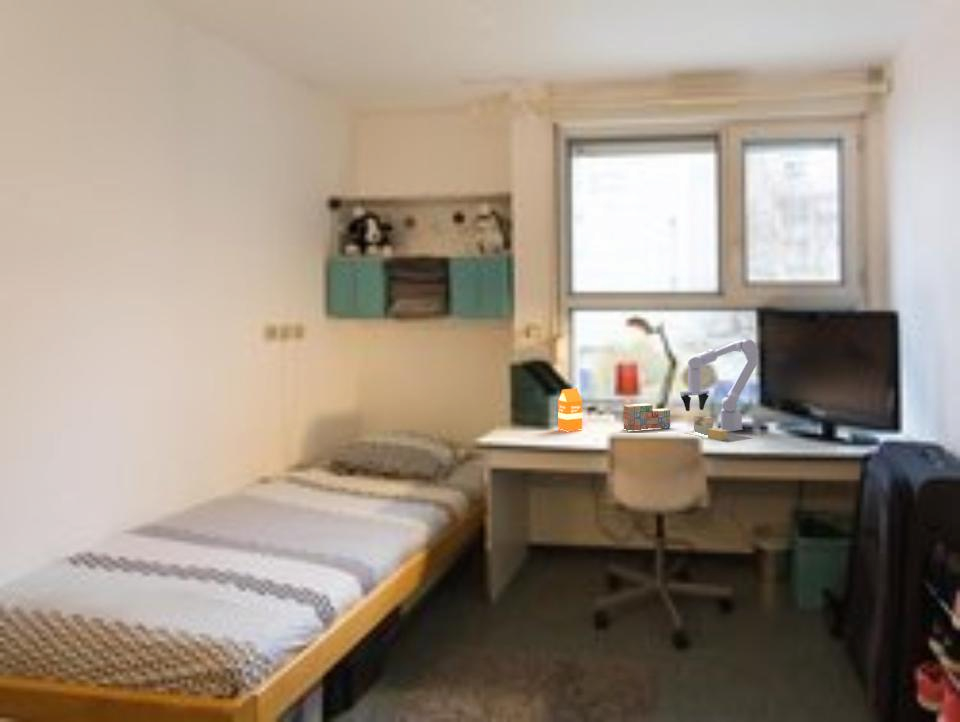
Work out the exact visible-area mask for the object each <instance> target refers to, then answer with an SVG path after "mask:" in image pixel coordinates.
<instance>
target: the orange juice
mask: <svg viewBox="0 0 960 722" xmlns="http://www.w3.org/2000/svg"><path fill="white" fill-rule="evenodd" d="M557 406H558V407H557V411H558V412H557V415H558V416H557V418H558V424H557V425H558V427H557V428H558V429H559V428H560V429H563V430H566V431H569V430H578V429H582V430H583V400H582V397H581V396H580V393H579V390H578V388H577V387H576V388H575V387H574V388H566V389H562V390H561V393H560V394H559V397H558V399H557Z"/></svg>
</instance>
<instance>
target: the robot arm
mask: <svg viewBox="0 0 960 722" xmlns="http://www.w3.org/2000/svg"><path fill="white" fill-rule="evenodd" d="M734 351H735V352H743V354H744V357H745V359H746V361H745V363H744V364H743V366H742V368H741V370H740V372H739V373H738V376H737V377H736V380H735V381H734V383H733V385H732V386H731V387H730V390H729V391H728V392H727V394H726V395H725V396H723V397H722V399H721V401H720V404H721V407H722V409H721V410H720V427H719V428H717V427H716V428H717V429H723V430H727V433H730V432H735V431H736V432H737V431H741V430H742V431H743V430H744V429H743V427H742V426H743V423H742V422H743V416H742V413H741V412H740V411H739V410H737V407H738V406H737V405H738V401H739V398H740V396H741V394H742V392H743V390H744V388H745V387H746V386H747V383H748V381H749V379H750V377H751V375H752V374H753V372H754V370H755V369H756V367H757V365H758V364H759V354H758V352H759V351H758V347H757V344H756V343H755V342H754V340H752V339H751V338H743V339H742V340H741V339H739V340H736V341H734V342H733V341H732V342H731V343H729V344H727V345H724V346H722V347H720V348H717V349H715V350H714V349H709V348H707V349H705V351H703V352H702V353H697V354H695V355H693V356H691V357H689V358H688V361H687V364H688V373H687V374H688V376H687V377H688V379H687V380H688V381H687V383H688V384H687V385H688V387H687V388H688V390H684V391H680V392H679V396H680V398H681V400H682V402H683V404H684V409H685V411H686V412H690V411H691V406H690V405H691V400H692V397H691V396H698V403H699V410H701V411H703V410H704V409H705V405H706V402H707V401H708V398H709V394H710V390H709V389H702V371H701V367H702V366H706V365H708V364H711V363H713V362H716V361H717V359H718V357H721V356H723V355H726V354H728V353H731V352H734Z"/></svg>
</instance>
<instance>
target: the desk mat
mask: <svg viewBox="0 0 960 722" xmlns="http://www.w3.org/2000/svg"><path fill="white" fill-rule="evenodd" d="M708 439H709V440H714V441H719V442H723V443H731V442H739V441H745V440H750V439H754V438H753V437H749V436H744V435H739V434H735V433H730V432H727V439H726V440H717V439H712V438H708Z"/></svg>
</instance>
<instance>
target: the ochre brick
mask: <svg viewBox="0 0 960 722" xmlns="http://www.w3.org/2000/svg"><path fill="white" fill-rule="evenodd" d="M727 433H728V431H727V430H723V429H717V427H713V428H710V429H708V438H707V439H709V438H712V439H711V440H713V439H717V440H716V441H718V440H726V439H727Z"/></svg>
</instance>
